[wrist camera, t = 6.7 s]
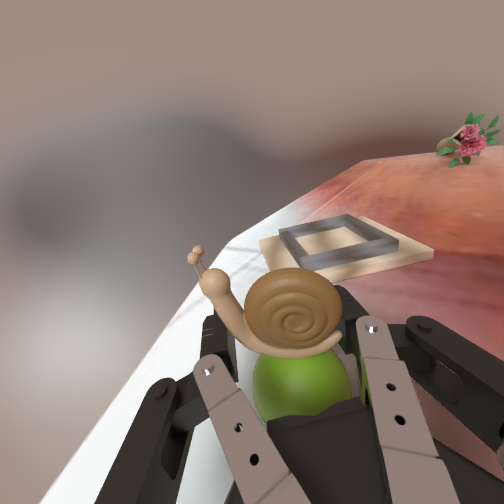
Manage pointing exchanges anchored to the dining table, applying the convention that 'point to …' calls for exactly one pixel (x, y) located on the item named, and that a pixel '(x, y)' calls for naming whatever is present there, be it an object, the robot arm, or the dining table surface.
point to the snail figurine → (285, 337)
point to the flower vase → (468, 139)
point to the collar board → (342, 248)
